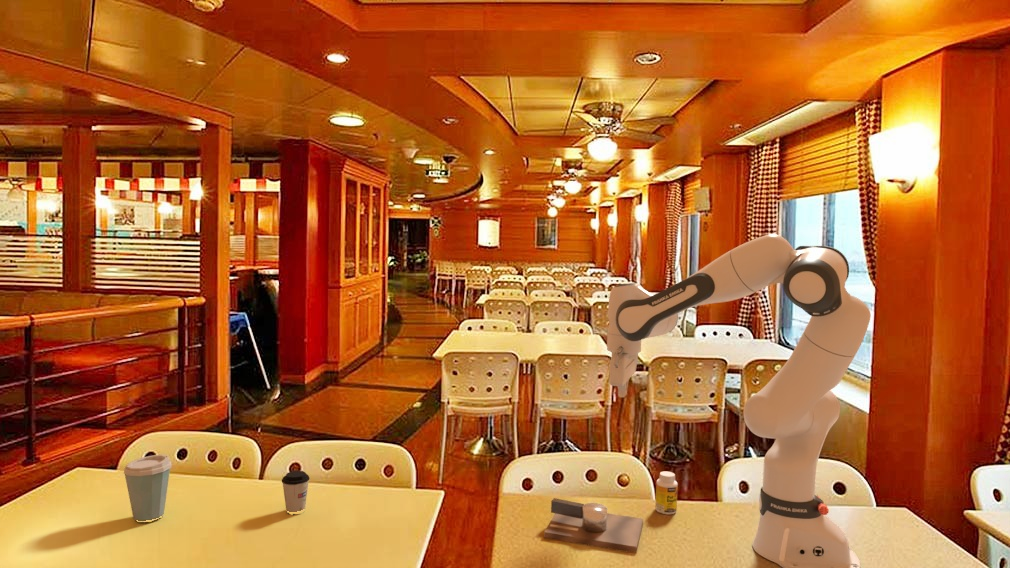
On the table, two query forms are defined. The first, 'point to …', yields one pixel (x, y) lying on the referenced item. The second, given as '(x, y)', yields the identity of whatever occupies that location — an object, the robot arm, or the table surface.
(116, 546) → the table surface
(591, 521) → the lever handle
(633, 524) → the lock base
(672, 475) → the supplement bottle
